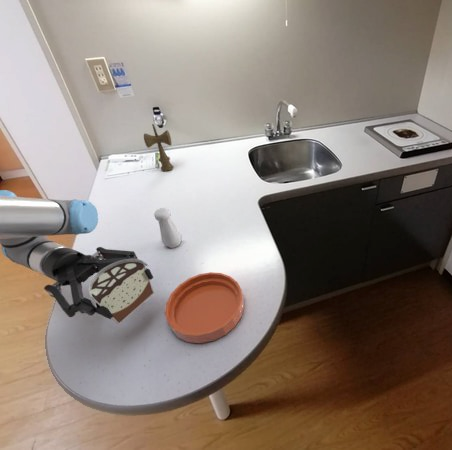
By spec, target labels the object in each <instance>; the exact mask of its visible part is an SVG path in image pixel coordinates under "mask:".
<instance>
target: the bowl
mask: <svg viewBox="0 0 452 450" xmlns="http://www.w3.org/2000/svg"><path fill="white" fill-rule="evenodd" d="M244 301H245V300H244V296H243V291H242V288H241V286H240V284H239V283H238V281H237V280H235V279H234V278H233V277H232V276H231V275H227V274H225V273H222V272H213V271H212V272H211V271H210V272H205V273H199V274H197V275H194V276H192V277H189V278H187V279H186V280H184V281H183V282H181V283H180V284H179V285H178V286H177V287H176V288H175V289H174V290H173V291H172V292H171V293H170V295H169V297H168V298H167V301H166V303H165V311H164V315H165V318H166V321H167V324H168V326H169V328H170V330H171V331H172V333H173V334H174V335H175V336H176V337H177V338H178V339H180V340H182V341H185V342H186V343H193V344H202V343H204V344H205V343H208V342H213V341H216V340H218V339H220V338H222V337H224V336H226V335H227V334H228V333H229V332H230V331H231V330H232V329H234V328H235V327H236V326H237V324H238V322H239V321H240V320H241V318H242V315H243V313H244V308H245V302H244Z"/></svg>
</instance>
